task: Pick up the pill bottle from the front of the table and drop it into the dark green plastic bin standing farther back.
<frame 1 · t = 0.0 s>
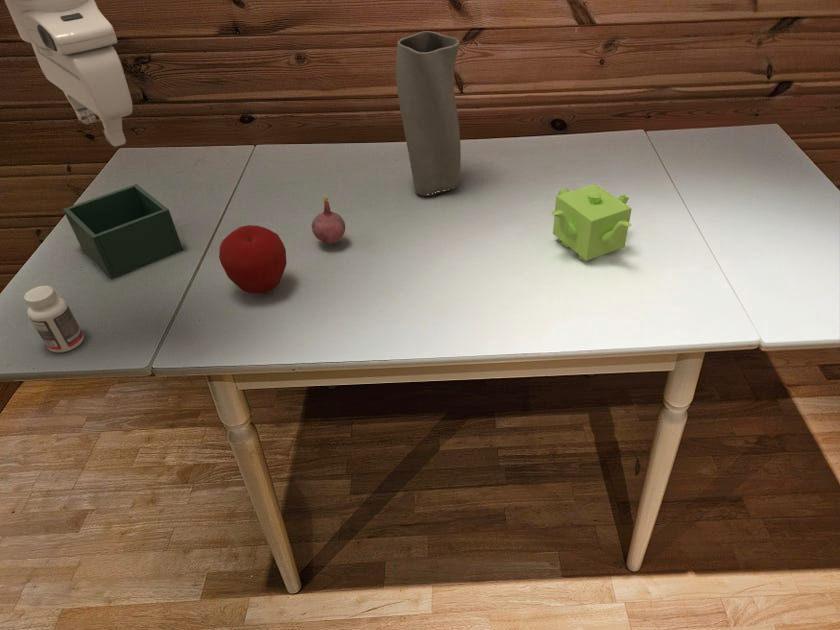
hand: (102, 132, 86), 33 cm above the table, tool pointing down, fingers open, 8 cm apart
vegetable: (332, 245, 126), on the table
apple: (262, 289, 115), on the table
vase: (434, 189, 142), on the table
green peg cube: (585, 248, 125), on the table
bin: (132, 249, 124), on the table
pill bottle: (66, 343, 104), on the table
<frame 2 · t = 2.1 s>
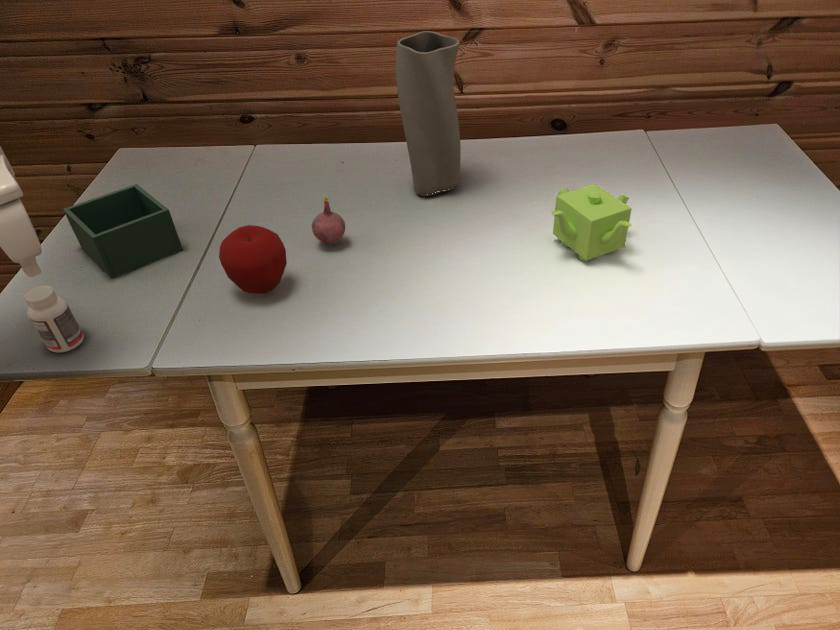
hand: (22, 260, 94), 16 cm above the table, tool pointing down, fingers open, 8 cm apart
nothing on the table moved.
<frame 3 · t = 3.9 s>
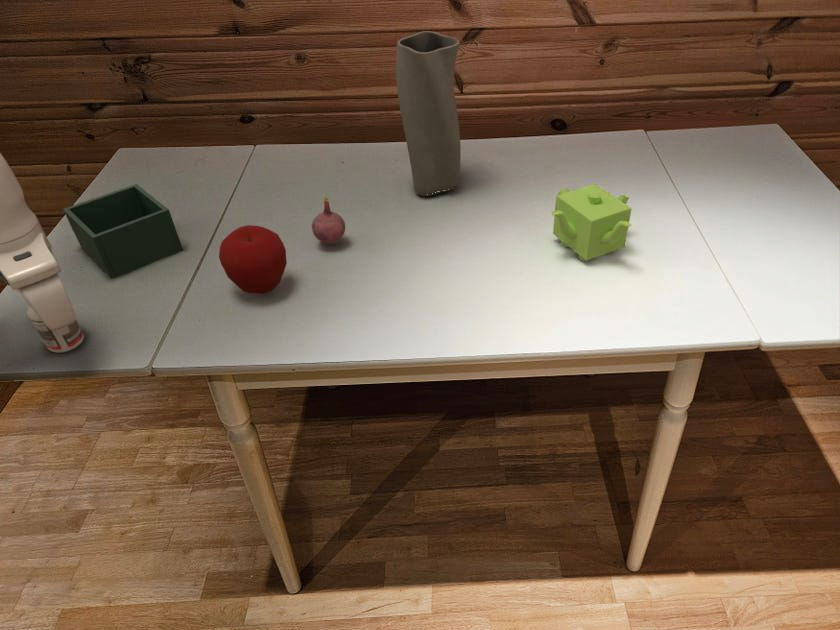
hand: (55, 322, 102), 4 cm above the table, tool pointing down, fingers closed on pill bottle, 5 cm apart
pill bottle: (66, 343, 104), on the table, touching gripper
everything else where it was.
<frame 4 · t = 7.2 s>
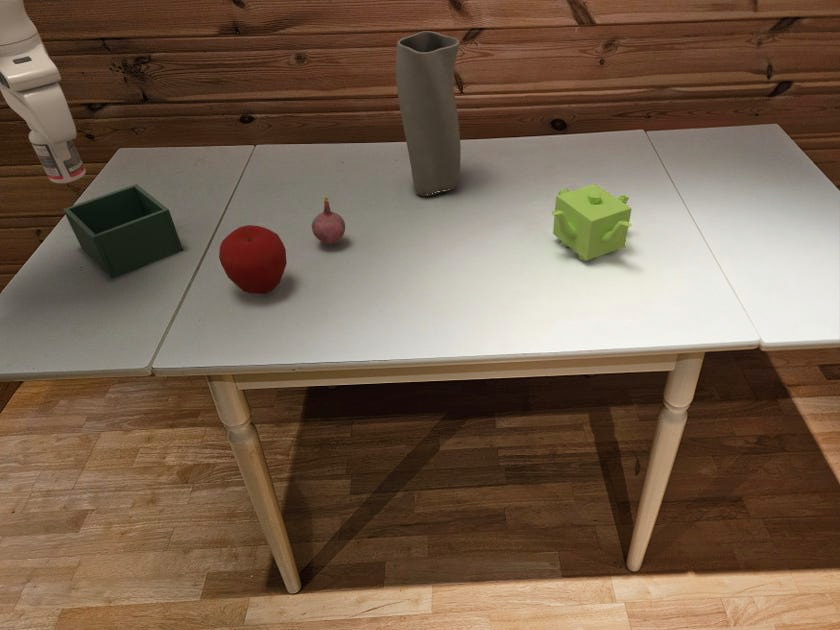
hand: (56, 151, 101), 24 cm above the table, tool pointing down, fingers closed on pill bottle, 5 cm apart
pill bottle: (68, 177, 104), point 19 cm above the table, touching gripper
everything else where it was.
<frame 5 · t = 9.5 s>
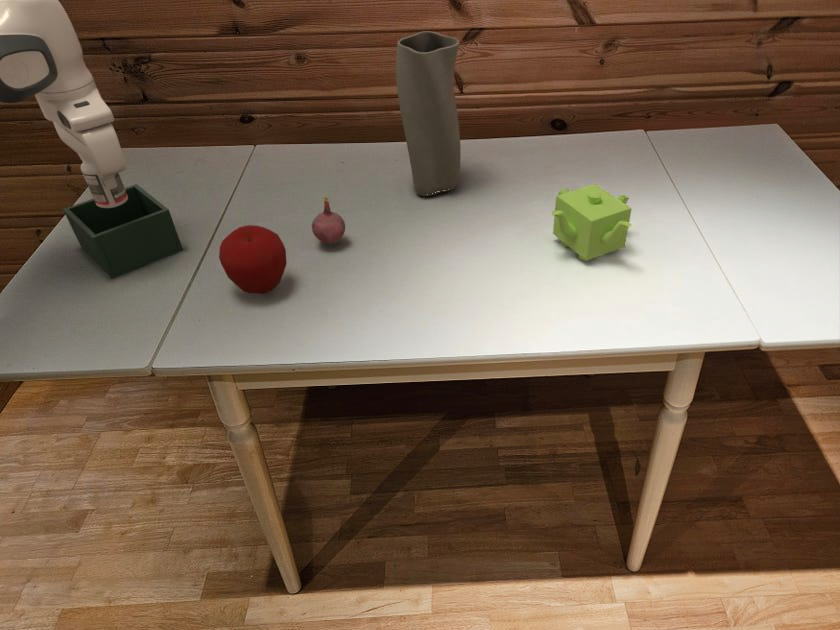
hand: (103, 180, 114), 14 cm above the table, tool pointing down, fingers closed on pill bottle, 5 cm apart
pill bottle: (112, 202, 117), point 10 cm above the table, touching gripper
everything else where it was.
when the fingers open (12 cm above the table, at t = 10.6 s): pill bottle drops 7 cm, resting on bin.
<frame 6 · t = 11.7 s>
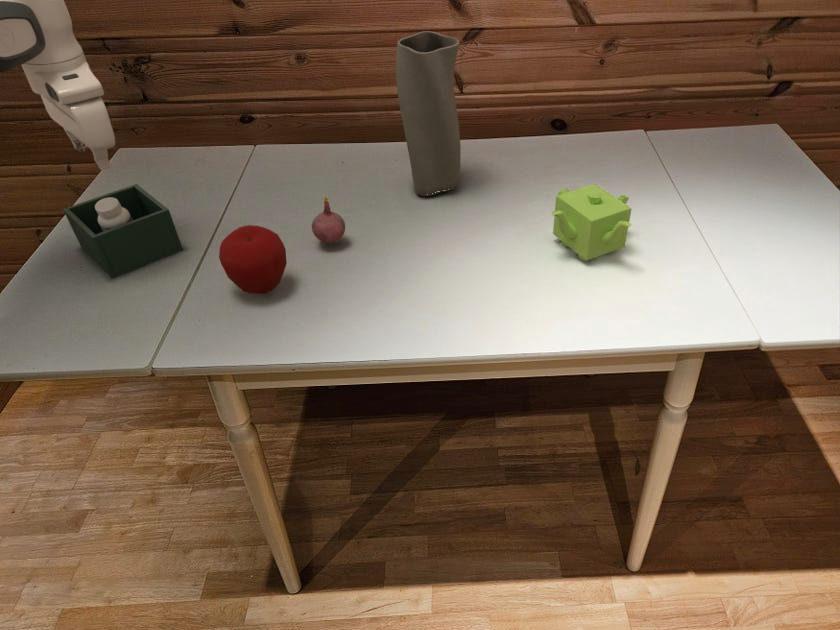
hand: (93, 158, 112), 18 cm above the table, tool pointing down, fingers open, 8 cm apart
pill bottle: (129, 246, 123), point 1 cm above the table, touching bin
everything else where it was.
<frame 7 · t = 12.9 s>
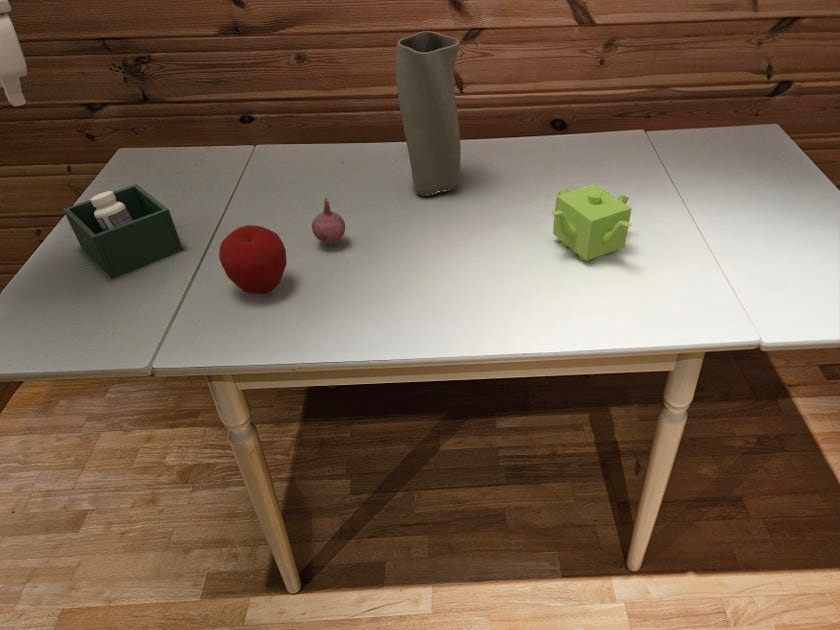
hand: (7, 95, 96), 32 cm above the table, tool pointing down, fingers open, 8 cm apart
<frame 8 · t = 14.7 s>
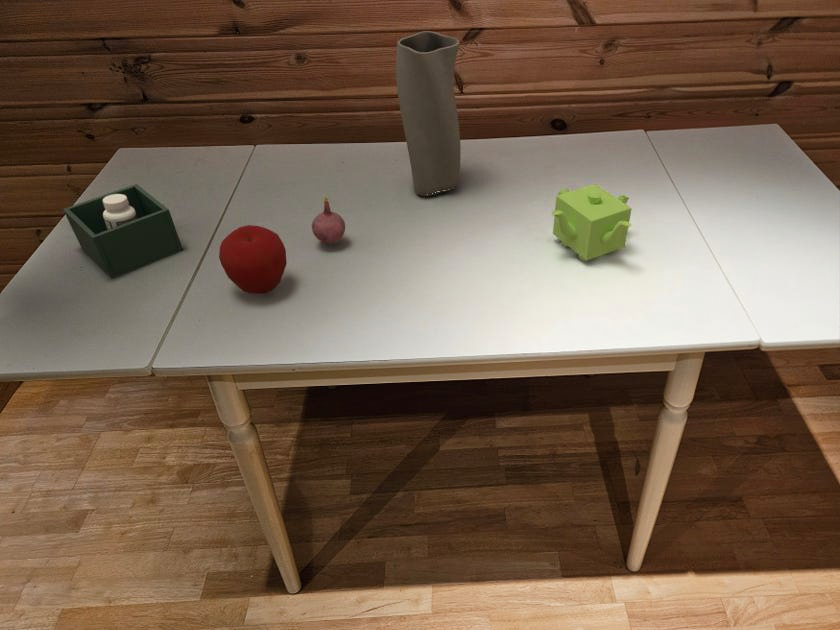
at the end: pill bottle inside the target area in the bin (0.4 cm from its centre), point 0.4 cm above the bin's base; the gripper is holding nothing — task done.
